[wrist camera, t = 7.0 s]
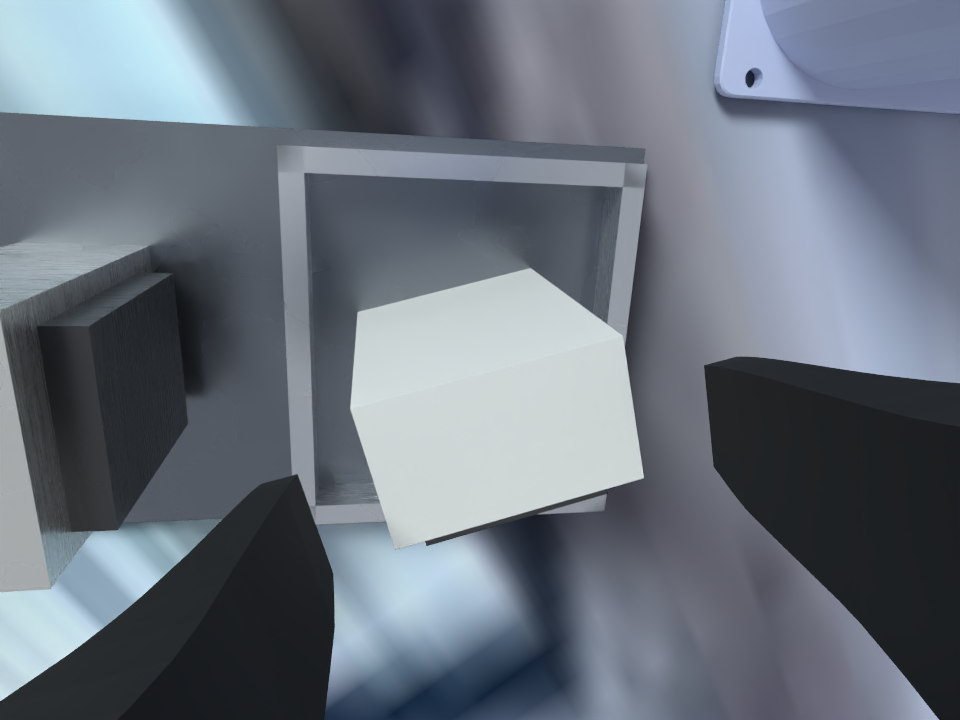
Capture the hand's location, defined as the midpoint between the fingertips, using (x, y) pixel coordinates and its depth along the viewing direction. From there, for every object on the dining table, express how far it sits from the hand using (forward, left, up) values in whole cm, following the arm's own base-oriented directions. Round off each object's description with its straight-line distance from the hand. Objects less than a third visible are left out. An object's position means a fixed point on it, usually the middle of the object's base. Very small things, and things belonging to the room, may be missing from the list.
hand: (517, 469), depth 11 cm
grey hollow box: (+5, 0, -9) cm, 10 cm away
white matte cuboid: (0, 0, -8) cm, 8 cm away
